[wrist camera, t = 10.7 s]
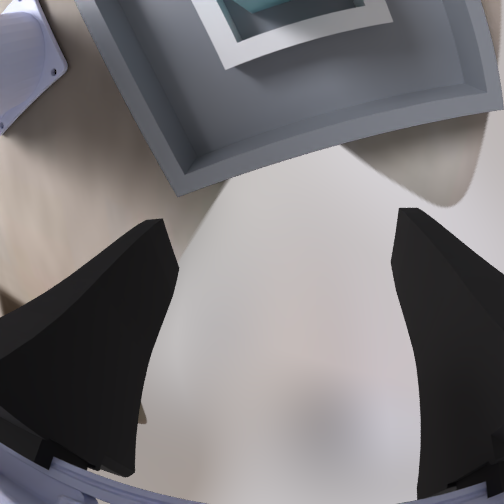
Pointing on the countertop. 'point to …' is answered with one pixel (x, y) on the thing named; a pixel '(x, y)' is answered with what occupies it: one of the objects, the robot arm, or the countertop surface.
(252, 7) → the teal rectangular block
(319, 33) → the grey square tray
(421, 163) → the countertop surface
